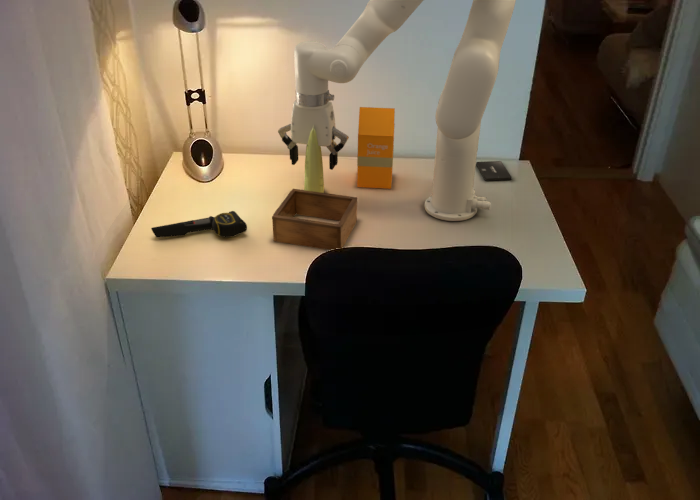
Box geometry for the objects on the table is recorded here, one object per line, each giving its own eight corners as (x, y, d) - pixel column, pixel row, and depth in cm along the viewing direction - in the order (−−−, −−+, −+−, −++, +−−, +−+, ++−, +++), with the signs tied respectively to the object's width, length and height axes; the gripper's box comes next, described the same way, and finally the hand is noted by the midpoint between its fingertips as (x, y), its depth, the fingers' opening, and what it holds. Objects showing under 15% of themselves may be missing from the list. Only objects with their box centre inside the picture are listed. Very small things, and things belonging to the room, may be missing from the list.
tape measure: (248, 235, 156) (247, 221, 154) (219, 243, 153) (218, 228, 151) (237, 222, 161) (236, 208, 159) (209, 229, 158) (207, 215, 156)
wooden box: (357, 221, 162) (357, 197, 159) (341, 252, 151) (341, 227, 148) (293, 212, 166) (292, 188, 162) (272, 241, 155) (271, 216, 151)
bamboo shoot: (329, 194, 173) (329, 121, 163) (314, 201, 170) (313, 126, 160) (314, 186, 177) (313, 114, 166) (299, 193, 174) (297, 119, 163)
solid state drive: (485, 180, 180) (485, 178, 180) (475, 164, 189) (476, 161, 188) (511, 179, 181) (512, 177, 180) (500, 163, 189) (501, 160, 189)
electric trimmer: (152, 235, 157) (150, 223, 155) (220, 223, 161) (219, 211, 160) (154, 243, 154) (151, 231, 152) (223, 231, 158) (222, 219, 157)
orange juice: (359, 173, 183) (360, 101, 173) (392, 175, 183) (395, 102, 172) (356, 187, 177) (357, 112, 166) (391, 189, 176) (394, 114, 165)
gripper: (352, 95, 161) (352, 162, 171) (282, 88, 165) (285, 154, 174) (343, 107, 155) (343, 176, 164) (271, 99, 159) (275, 167, 168)
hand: (313, 164), depth 169 cm, fingers open, 9 cm apart
